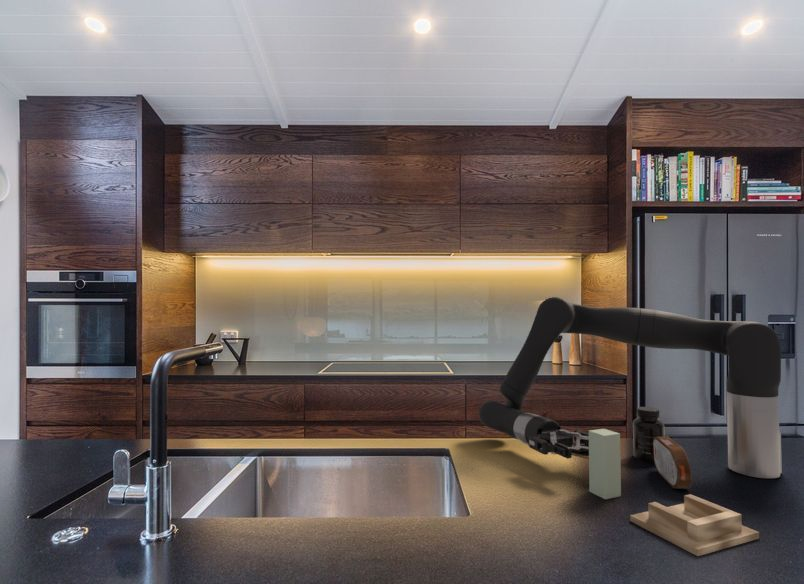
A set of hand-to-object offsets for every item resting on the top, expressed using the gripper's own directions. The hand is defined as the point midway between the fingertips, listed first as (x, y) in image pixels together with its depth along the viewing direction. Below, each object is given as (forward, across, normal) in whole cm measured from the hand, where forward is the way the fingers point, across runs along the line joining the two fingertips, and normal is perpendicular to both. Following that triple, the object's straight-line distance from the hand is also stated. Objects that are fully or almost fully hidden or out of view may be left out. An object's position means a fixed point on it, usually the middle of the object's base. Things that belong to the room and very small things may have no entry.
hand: (586, 451), depth 96 cm
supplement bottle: (-7, +26, +7) cm, 28 cm away
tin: (+5, +18, +7) cm, 20 cm away
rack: (+21, +2, +7) cm, 22 cm away
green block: (+5, 0, +7) cm, 8 cm away
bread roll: (-18, +16, +8) cm, 25 cm away
